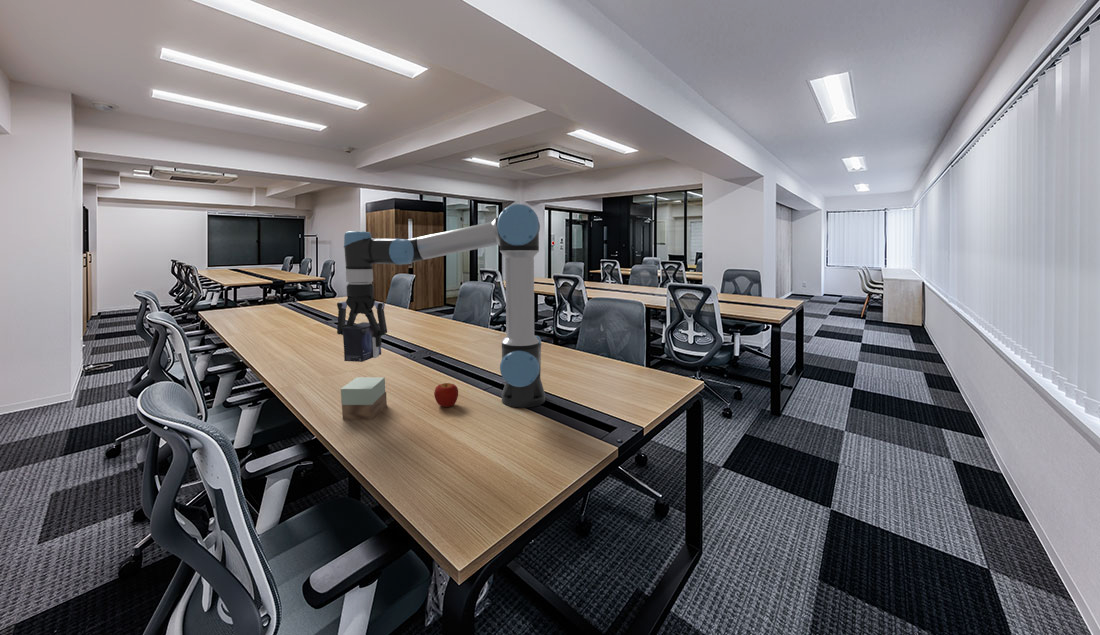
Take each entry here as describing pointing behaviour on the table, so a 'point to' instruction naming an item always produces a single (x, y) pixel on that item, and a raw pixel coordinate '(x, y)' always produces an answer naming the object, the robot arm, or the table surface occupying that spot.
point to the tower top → (363, 391)
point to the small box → (358, 342)
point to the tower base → (364, 409)
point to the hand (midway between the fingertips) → (363, 356)
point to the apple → (446, 394)
